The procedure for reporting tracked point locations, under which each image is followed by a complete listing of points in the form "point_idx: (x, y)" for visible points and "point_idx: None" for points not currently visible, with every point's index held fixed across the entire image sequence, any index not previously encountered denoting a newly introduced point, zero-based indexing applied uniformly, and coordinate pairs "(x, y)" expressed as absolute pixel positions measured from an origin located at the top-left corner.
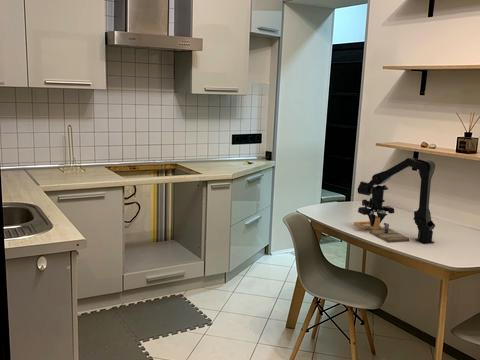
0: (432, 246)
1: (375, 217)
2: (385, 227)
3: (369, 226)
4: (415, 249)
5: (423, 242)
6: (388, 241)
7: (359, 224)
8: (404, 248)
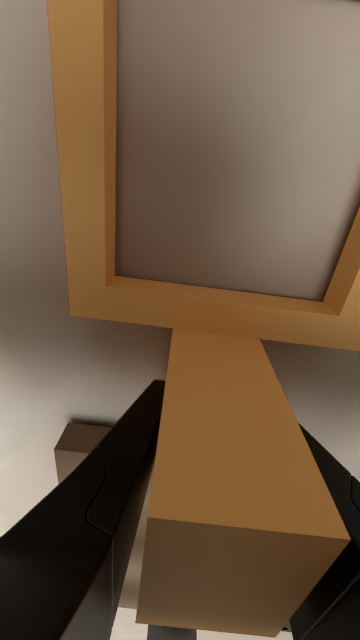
0: (286, 637)
1: (178, 604)
2: None
3: (175, 314)
4: None
5: (286, 627)
6: None
7: (65, 142)
8: (117, 618)
